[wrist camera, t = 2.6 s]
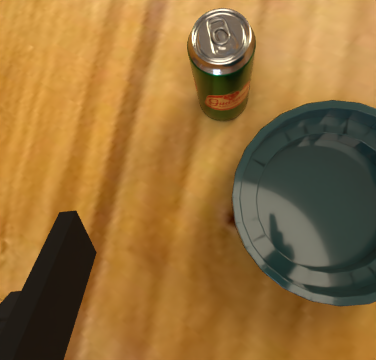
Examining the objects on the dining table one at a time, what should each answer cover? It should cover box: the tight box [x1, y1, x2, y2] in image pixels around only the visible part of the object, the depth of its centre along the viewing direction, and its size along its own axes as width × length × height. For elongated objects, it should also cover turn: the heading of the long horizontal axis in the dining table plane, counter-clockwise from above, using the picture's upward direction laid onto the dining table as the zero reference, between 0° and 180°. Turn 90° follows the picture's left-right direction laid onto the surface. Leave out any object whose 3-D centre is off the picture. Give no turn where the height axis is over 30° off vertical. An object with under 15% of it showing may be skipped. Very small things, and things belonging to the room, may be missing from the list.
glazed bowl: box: [231, 100, 376, 306], centre depth 30 cm, size 17×17×5 cm
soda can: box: [187, 8, 256, 121], centre depth 29 cm, size 5×5×12 cm
